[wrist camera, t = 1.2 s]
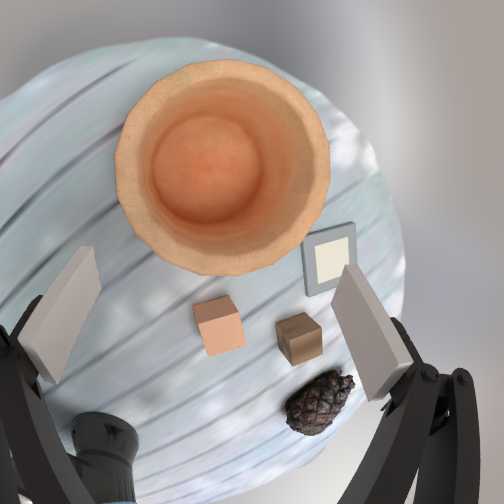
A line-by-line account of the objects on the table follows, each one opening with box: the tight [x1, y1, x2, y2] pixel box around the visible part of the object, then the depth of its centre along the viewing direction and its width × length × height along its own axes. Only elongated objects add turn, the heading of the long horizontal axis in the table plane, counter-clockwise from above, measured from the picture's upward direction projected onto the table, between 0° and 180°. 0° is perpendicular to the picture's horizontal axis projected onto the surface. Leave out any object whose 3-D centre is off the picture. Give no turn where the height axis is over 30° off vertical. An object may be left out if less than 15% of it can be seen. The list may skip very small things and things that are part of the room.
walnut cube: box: [275, 313, 323, 366], centre depth 47 cm, size 6×6×6 cm
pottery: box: [114, 59, 330, 276], centre depth 31 cm, size 22×22×14 cm
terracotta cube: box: [192, 296, 246, 357], centre depth 42 cm, size 6×6×6 cm
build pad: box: [301, 223, 357, 297], centre depth 48 cm, size 11×11×1 cm
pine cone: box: [286, 370, 355, 436], centre depth 53 cm, size 10×18×10 cm, turn 134°
